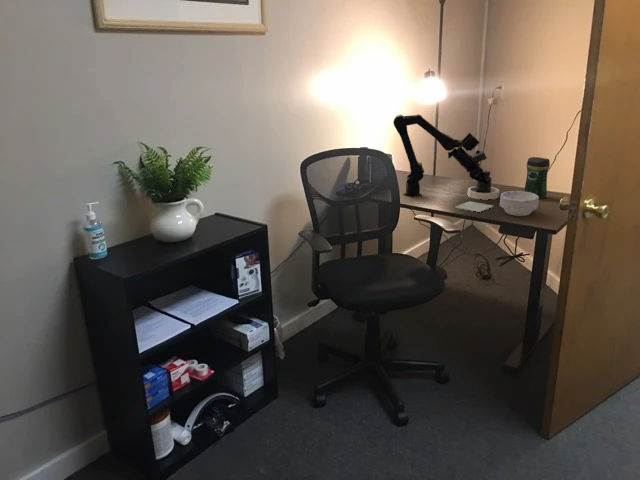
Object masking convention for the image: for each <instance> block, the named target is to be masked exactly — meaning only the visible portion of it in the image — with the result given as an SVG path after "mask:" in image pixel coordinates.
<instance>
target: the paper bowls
mask: <svg viewBox="0 0 640 480" xmlns="http://www.w3.org/2000/svg"><path fill="white" fill-rule="evenodd" d="M499 197H500V200H499V206H500V207H501V208H503V210H504V212H505V213H506V214H508V215H511V216H515V217H525V216H526V217H527V216H529V215H530V214H532V212H533V211H535V210H537V209H538V208H539V201H540V198H539V197H538V195H536V194H533V193H530V192H524V190H523V191H522V190H510V191H504V192H502V193H500V195H499Z"/></svg>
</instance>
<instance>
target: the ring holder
mask: <svg viewBox="0 0 640 480" xmlns="http://www.w3.org/2000/svg"><path fill="white" fill-rule="evenodd" d="M466 194H467V195H468V197H469V198H470V197H471V199H474V198H475V199H474V200H480V199H482V200H483V201H486V200H488V199H492V200H496V199H498V198H499V197H500V189H498V188H497V187H493V186H491V193H478V192H476V185H475V186H470V187H469V188H467V193H466ZM467 195H466V196H467Z"/></svg>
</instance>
